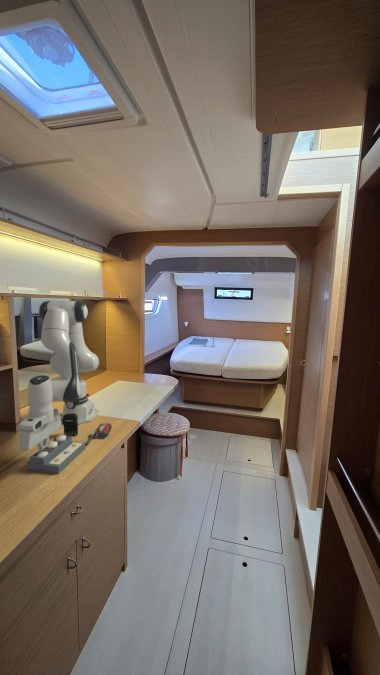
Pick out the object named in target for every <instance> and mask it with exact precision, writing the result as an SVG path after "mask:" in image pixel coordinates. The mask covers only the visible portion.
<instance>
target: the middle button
mask: <svg viewBox="0 0 380 675" xmlns="http://www.w3.org/2000/svg"><path fill="white" fill-rule="evenodd" d="M57 446H58V443H57V441H52V440H51V441H48V443H47V449H52V450H54V449H55V448H56V447H57Z"/></svg>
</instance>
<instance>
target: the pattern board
mask: <svg viewBox="0 0 380 675" xmlns="http://www.w3.org/2000/svg"><path fill="white" fill-rule="evenodd" d="M72 437H73V436H66V440H65V441H64V442H62V443H61V442H57V443H58V446H57V447H56V448H55V449H54V450H52V449H47V447H46V448H45V449H44V450H42V451H39V450H37V451H35V452H34V453H33V454H32V455H30V457H29V459H30V460H28V461H26V471H34V472H42V473H48V474H49V473H50V474H57V475H59V474H61V473H62V472H63V471H64V470H65V469H66V468H67V467H68V466H69V465H70V464H71V463H72V462H73V461H75V459H77V457H78V456H79V455H80V454H82V453H83V452H84V451H85V450H86V442H82V441H81V442H80V441H73V440H72V439H73V438H72ZM51 441H56V437H55V438H54V439H52V440H51ZM43 451H47V452H48V454H47V455H46V456H45V457H37V454H38V453H40V452H43Z"/></svg>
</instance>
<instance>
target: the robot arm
mask: <svg viewBox="0 0 380 675" xmlns="http://www.w3.org/2000/svg"><path fill="white" fill-rule="evenodd" d="M38 309H39V310H38V315H39V317H40V319H41V320H42V326H41V333H40V334H41V336H40V340H41V343H42V345H43V346H44V348H45V349H47V350H49V351H51V352H53V353H55V354H53V355H52V356H51V358H50V360H49V366H50V368H51V370H52V371H53V372H55V373H57V375H58V376H59V377H60V378H50V376H49V375H45V374H44V375H37V376H33V377H31V378H30V379H29V380H28V385H27V403H28V411H27V412H28V414H26V415H25V417H24V418H23V420H22V421H20V423H18V425H17V426H18V429H19V430H20V431H19V433H18V447H19V449H20V450H22V451H31V450H32V449H34V448H35V447H36V446H37V448H38V451H42V450H44V449H45V448H46V447H47V443H49V440H50V436H51V435H54V433H56V432H57V431H58V430H60V429H61V427H62V421H63V416H64V414H66V413H77V414H78V425H80V424H84V423H89V422H92V421H93V420H94V419H93V418H96V416H97V415H98V414H99V412H100V410H99V409H97V408H96V406H95V403H94V402H92V401H91V400H90V399H89V398H90V397H91V393H90V392H89V393H88V392H87V382H86V380H84V378H82V377H80V373H90V372H95V371H96V370H97V369H98V368H99V365H100V359H99V357H98V355H97V354H96V353H94V352H92V351H91V350H90V349H89V348H88V346H87V345H86V343H85V338H84V330H83V322H85V321H86V320H87V319H88V314H89V311H88V307H87V304H86V303H85V302H83V301H79V300H77V301H75V300H53V301H51V300H46V301H42V303H41V304H40V305H39V308H38ZM54 402H57V403H58V402H59V403H60V402H63V403H64V404H63V406H62V415H61V414H60V410H59V409H58V408H54V405H53V403H54ZM98 411H99V412H98ZM97 413H98V414H97ZM96 414H97V415H96Z"/></svg>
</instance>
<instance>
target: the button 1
mask: <svg viewBox="0 0 380 675" xmlns="http://www.w3.org/2000/svg"><path fill="white" fill-rule="evenodd" d="M47 454H48V452H47V451H43V452H40V453H38V454H37V457H45V456H46V455H47Z"/></svg>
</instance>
